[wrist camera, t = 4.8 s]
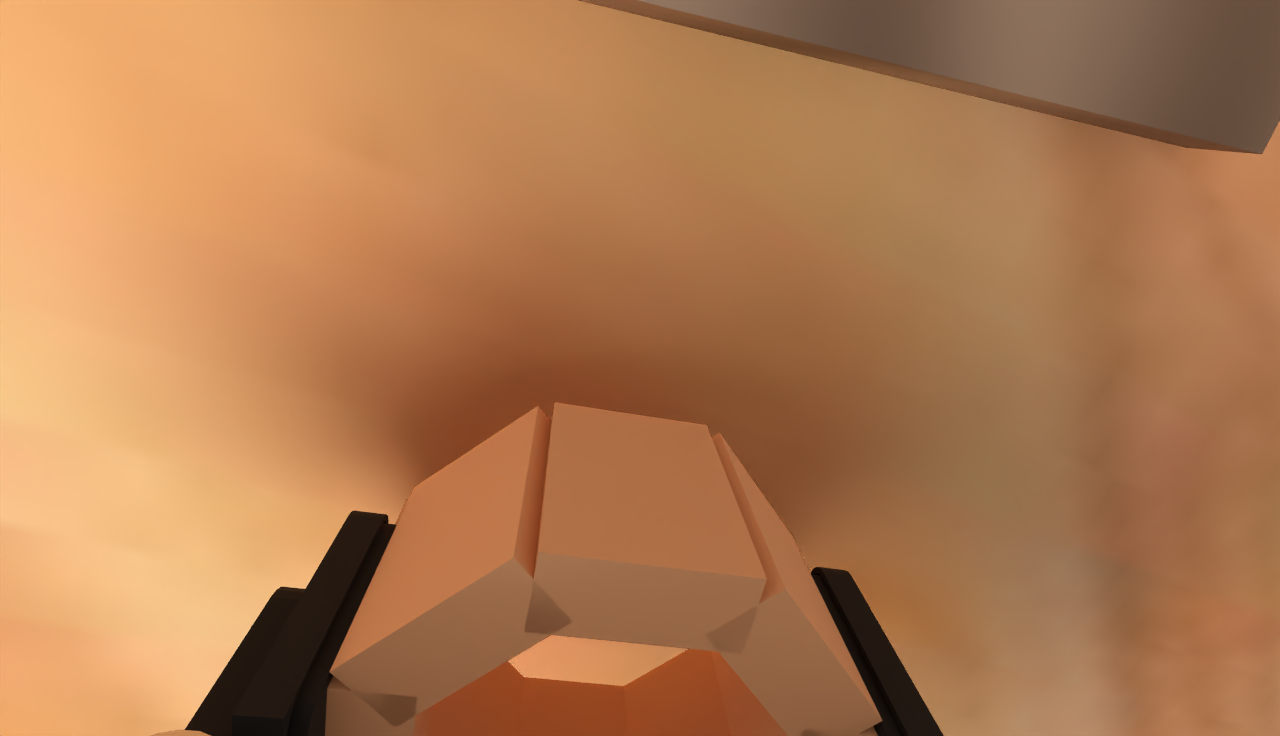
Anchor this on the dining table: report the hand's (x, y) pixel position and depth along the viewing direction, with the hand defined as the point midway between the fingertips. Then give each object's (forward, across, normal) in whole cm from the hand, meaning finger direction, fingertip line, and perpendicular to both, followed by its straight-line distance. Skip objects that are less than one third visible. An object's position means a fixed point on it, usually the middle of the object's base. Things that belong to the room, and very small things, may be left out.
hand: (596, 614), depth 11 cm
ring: (+1, 0, 0) cm, 1 cm away
